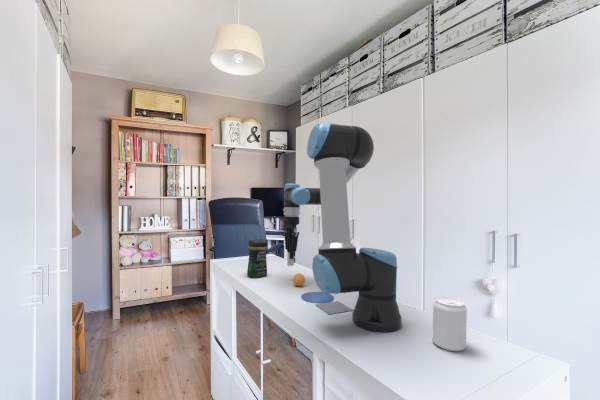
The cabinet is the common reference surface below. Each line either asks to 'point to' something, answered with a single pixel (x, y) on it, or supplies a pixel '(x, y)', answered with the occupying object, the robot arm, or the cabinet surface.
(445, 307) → the beverage can
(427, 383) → the cabinet surface
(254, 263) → the coffee jar
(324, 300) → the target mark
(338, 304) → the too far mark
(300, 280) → the ball
